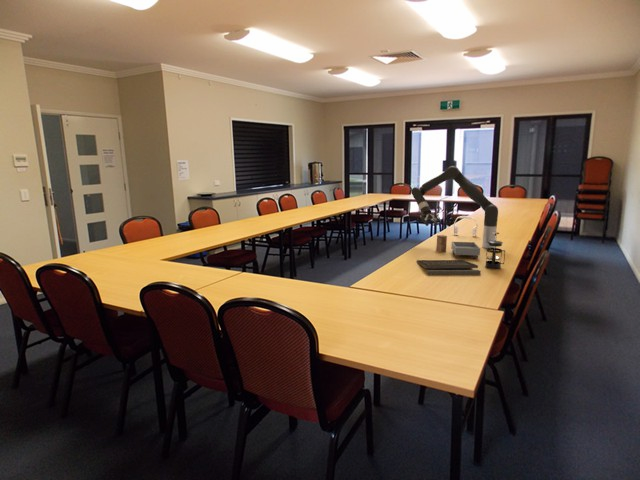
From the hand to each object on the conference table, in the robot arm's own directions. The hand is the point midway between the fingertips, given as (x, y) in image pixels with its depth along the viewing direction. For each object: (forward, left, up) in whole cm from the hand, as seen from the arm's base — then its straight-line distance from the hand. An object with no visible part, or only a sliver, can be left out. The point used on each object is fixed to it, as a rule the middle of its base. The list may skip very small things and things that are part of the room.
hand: (432, 225), depth 315 cm
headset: (-34, -52, -18) cm, 65 cm away
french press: (-34, +52, -18) cm, 65 cm away
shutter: (-4, +58, -19) cm, 61 cm away
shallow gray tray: (-21, +23, -18) cm, 36 cm away
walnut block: (-6, +11, -18) cm, 22 cm away
